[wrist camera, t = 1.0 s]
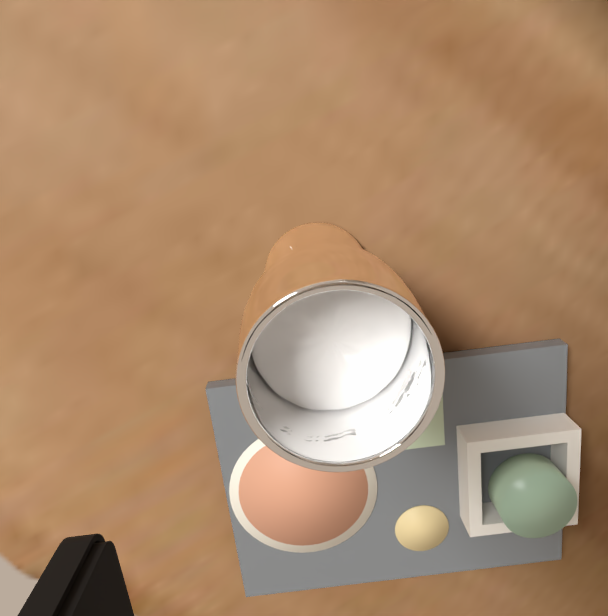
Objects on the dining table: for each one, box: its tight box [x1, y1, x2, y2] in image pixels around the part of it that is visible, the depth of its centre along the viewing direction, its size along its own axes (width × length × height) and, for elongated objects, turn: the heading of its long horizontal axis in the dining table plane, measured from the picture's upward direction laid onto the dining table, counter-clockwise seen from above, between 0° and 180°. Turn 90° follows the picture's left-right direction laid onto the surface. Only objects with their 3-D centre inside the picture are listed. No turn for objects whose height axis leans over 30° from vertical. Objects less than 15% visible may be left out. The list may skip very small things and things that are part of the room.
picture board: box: [206, 339, 581, 597], centre depth 33 cm, size 16×22×3 cm
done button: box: [488, 453, 577, 538], centre depth 30 cm, size 4×4×2 cm
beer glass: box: [236, 222, 445, 472], centre depth 23 cm, size 7×7×15 cm
